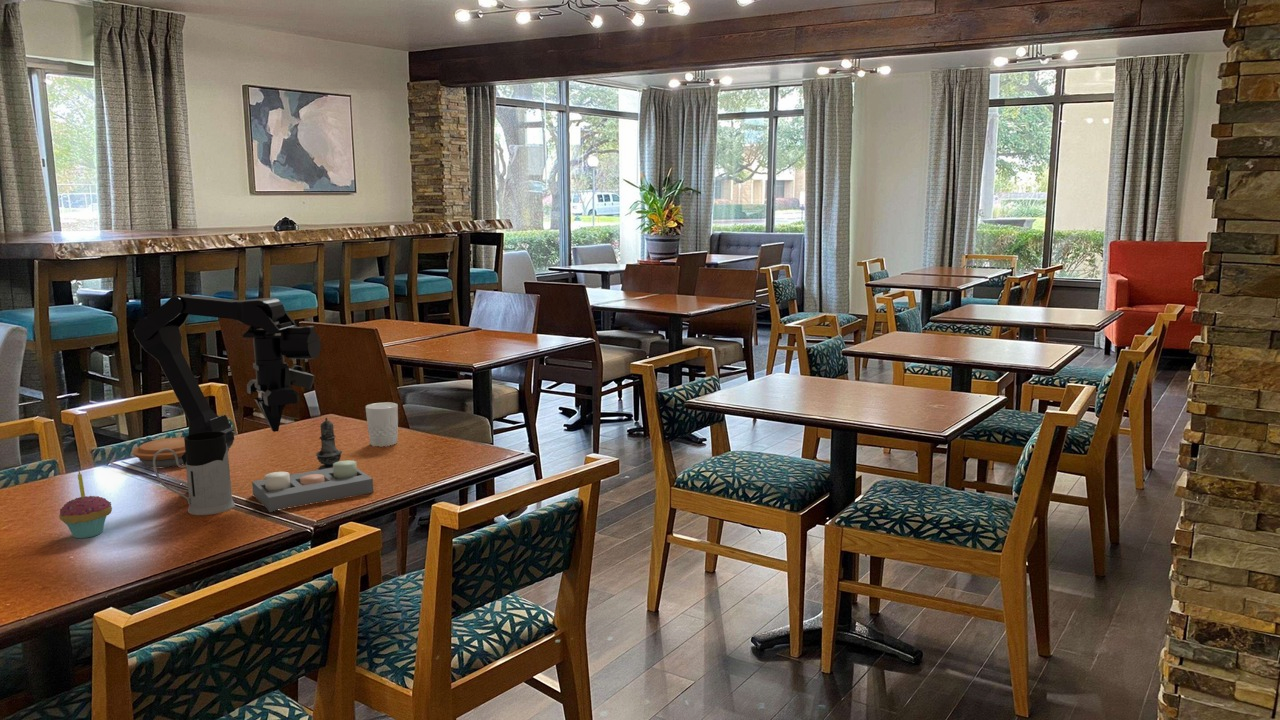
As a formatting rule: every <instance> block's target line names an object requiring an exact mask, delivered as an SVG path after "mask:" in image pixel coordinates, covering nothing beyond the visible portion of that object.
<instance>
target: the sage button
mask: <svg viewBox="0 0 1280 720" xmlns="http://www.w3.org/2000/svg"><path fill="white" fill-rule="evenodd" d="M357 465H358V464H357V461H356V460H339V461H338V462H336V463H334V464H333V472H334V478H335V479H336V480H337V479H342V478H348V477H354V476H357V469H358V467H357Z"/></svg>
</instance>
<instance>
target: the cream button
mask: <svg viewBox="0 0 1280 720" xmlns="http://www.w3.org/2000/svg"><path fill="white" fill-rule="evenodd" d="M290 475H291V474H290V472H288V471H275V472H274V471H273V472H270V473H267V474H264V479H265V489H266V491H267V492H270V491H275V490H281V489H287V488H290Z"/></svg>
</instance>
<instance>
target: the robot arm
mask: <svg viewBox="0 0 1280 720" xmlns="http://www.w3.org/2000/svg"><path fill="white" fill-rule="evenodd" d="M285 309H286V308H285V306H284V304H283V303H282V301H281V300H280V299H278V298H277V297H276V298H275V297H265V298H263V297H262V298H254V299H253V298H252V299H243V300H239V299H231V298H230V299H229V298H221V297H211V296H199V295H192V294H190V293H183V294H175V295H173V296H171V297H170V298H169V299H168V300H167V301H166V302H165V303H164V304H163V305H161V306H159V307H158V308H157V309H154V310H153V311H152V312H150V313H149V314H148V315H147V316H146V317H143V318H139V320H137V322H136V323H135V325H134V329H133V334H134V338H135V339H136V340H137V342H138V343H139V345H140V346H141V348H142V349H143V350H144V351H145V352H146V353H148V354H149V355H150V356H152V357H153V358H154V359H155V360H156V361H157V362H158V364H159V366H160V368H161V369H162V371H163V373H164V375H165V377H166V379H167V381H168V382H169V385H170V387H171V390H172V391H173V393H174V395H175V397H176V399H177V400H178V402H179V405H180V406H181V409H182V410H183V412H184V414H185V416H186V418H187V419H188V435H191V434H195V433H200V432H211V431H218V432H224V433H225V436H226V443H227V447H228V452H229V451H230V448H231V447H232V446H233V443H234V440H235V435H234V432H235V429H234V428H233V427H232V425H231V424H230V421H229V417H228V416H227V415H226V414H225V413H224V414H221V415H218V414H216V413H215V412H214V411H213V410H212V409H211V407H210V405H209V402H208V401H207V399H206V397H205V395H204V392H203V391H202V389H201V387H200V385H199V383H198V381H197V379H196V377H195V376H194V374H193V371H192V370H191V367H190V366H189V364H188V362H187V361H188V360H187V359H186V358H185V356H184V354H183V352H182V334H181V331H180V328H181V327H182V326H183V325H184V324H185V323H186V322H187V320H188V318H189V316H190V315H191V316H200V317H209V318H210V317H211V318H221V319H227V320H228V319H229V320H233V321H234V320H235V321H237V322H239V323H241V324H243V325H246V326H249V327H248V329H247V330H246V331H245V332H244V333H243V334H242V338H244V339H252V341H253V343H252V344H253V352H254V354H253V355H254V362H253V363H252V368H253V369H254V370H255V376H256V378H255V379H250V380H249V381H248V382H247V383H246V392H247V394H249V395H254V393H255V392H257V394H258V396H257V397H255V398H254V401H255V403H256V405H257V406H258V408H259V409H260V412H261V414H262V415H263V417H264V418H265V420H266V422H267V424H268V425H269V427H270V429H271V431H272V432H273V433H274V432H276V433H277V432H279V430H280V425H281V422H282V415H283V411H284V408H285V407H286V406H287V405H290V404H291V405H292V404H298V403H300V396H299V395H300V393H299V392H297V391H296V390H295V389H293V388H292V386H294V387H300V388H304V389H305V390H309V391H310V390H311V389H312V386H313V383H314V380H315V375H314V374H311V373H309V372H307V371H304V368H303V366H300V365H296V364H293V366H291V367H290V366H289V364H288V363H287V362H285V357H286V358H287V359H290V360H316V359H317V358H318V357H319V356H320V355H321V354H320V353H321V350H322V348H321V347H322V346H321V345H322V342H321V339H320V337H319V335H318V333H317V332H316V331H315V326H314V325H306V326H298V325H297V323H295V321H293V319H292V318H291V317H290V315H289V314H288V312H286V310H285ZM182 460H183V462H184V465H186V452H185V453H184V454H183V455H182Z"/></svg>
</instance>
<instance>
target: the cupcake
mask: <svg viewBox="0 0 1280 720" xmlns="http://www.w3.org/2000/svg"><path fill="white" fill-rule="evenodd" d="M77 472H78V474H77V479H78V481H77V482H78V485H79V492H80V496H79V497H76V498H74V499H73V498H72V499H71V500H69V501H68V502H66V503H65V504H64V505H63V506H62V507H61V508H60V509H59V516H58V518H59V520H60V521H61V522H63V523H64V524H65V525H66V526H67V527H68V529H69V532H70V533H71V535H72V537H73V538H75V539H87V538H93V537H95V536H99V535H100V534H102V533H103V531H104V526H105V522H106V518H107V516H110V514H111V513H112V510H113V507H112V502H111V501H109V500H108V499H106V498H104V497H103V496H101V497H100V496H98V495H87V496H86V493H85V492H86V491H85V487H84V481H83V474H82V473H81V471H80V469H78V470H77Z"/></svg>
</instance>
